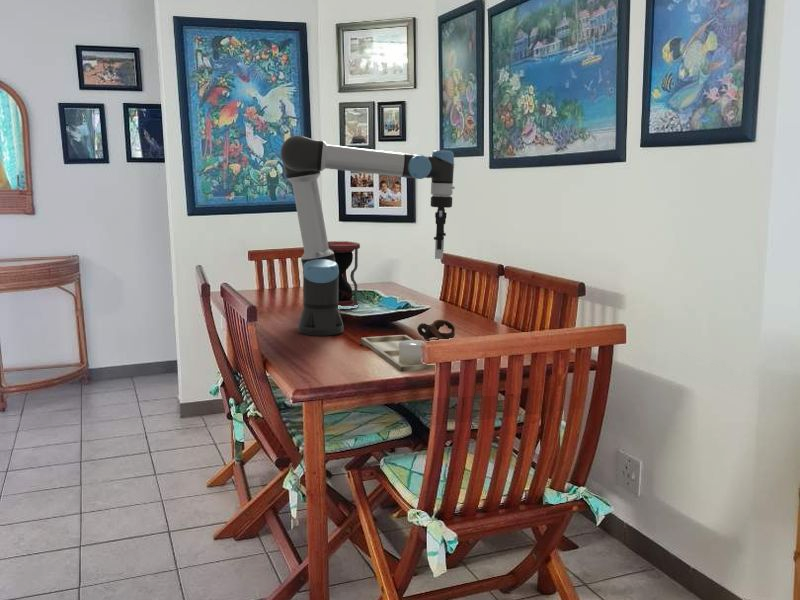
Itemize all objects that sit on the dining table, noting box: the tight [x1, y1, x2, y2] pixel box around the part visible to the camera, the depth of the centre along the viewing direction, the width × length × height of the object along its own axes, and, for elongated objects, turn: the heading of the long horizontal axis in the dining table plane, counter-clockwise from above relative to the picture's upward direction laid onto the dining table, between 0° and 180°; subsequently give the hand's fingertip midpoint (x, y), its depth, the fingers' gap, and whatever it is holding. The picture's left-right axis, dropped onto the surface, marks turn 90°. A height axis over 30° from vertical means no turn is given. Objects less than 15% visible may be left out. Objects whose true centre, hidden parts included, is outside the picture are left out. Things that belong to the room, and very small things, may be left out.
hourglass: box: [328, 240, 361, 306], centre depth 286 cm, size 16×16×25 cm
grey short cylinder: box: [399, 339, 425, 365], centre depth 207 cm, size 9×9×5 cm
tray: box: [360, 334, 435, 372], centre depth 216 cm, size 15×35×2 cm, turn 21°
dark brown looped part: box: [417, 319, 456, 341], centre depth 233 cm, size 12×10×8 cm
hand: (439, 256), depth 258 cm, fingers open, 13 cm apart
